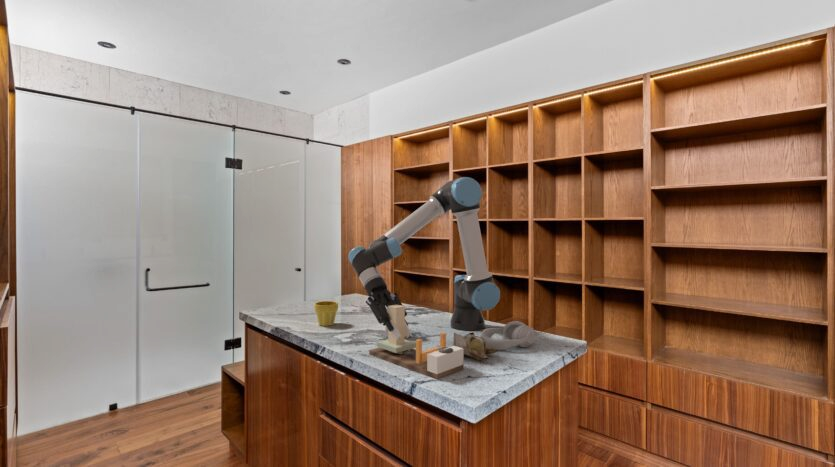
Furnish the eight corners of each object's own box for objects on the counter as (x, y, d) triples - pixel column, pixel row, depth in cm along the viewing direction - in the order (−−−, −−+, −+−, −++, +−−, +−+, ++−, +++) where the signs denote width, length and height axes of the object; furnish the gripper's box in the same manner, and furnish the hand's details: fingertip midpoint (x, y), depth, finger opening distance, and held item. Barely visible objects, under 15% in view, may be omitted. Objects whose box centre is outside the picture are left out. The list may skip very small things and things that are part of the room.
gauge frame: (415, 362, 123) (415, 339, 122) (443, 353, 131) (443, 332, 131) (418, 363, 122) (418, 340, 122) (445, 354, 130) (446, 333, 130)
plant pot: (335, 327, 177) (335, 305, 177) (311, 327, 177) (311, 305, 177) (340, 321, 187) (340, 300, 187) (318, 321, 188) (317, 300, 187)
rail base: (369, 354, 139) (369, 347, 139) (395, 347, 148) (395, 340, 148) (437, 379, 117) (437, 370, 117) (463, 369, 125) (463, 361, 125)
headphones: (521, 335, 163) (475, 344, 159) (519, 316, 163) (472, 325, 159) (544, 348, 145) (493, 359, 141) (542, 327, 145) (490, 337, 141)
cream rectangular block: (426, 370, 120) (426, 351, 119) (453, 361, 128) (453, 343, 128) (437, 374, 116) (437, 354, 116) (463, 364, 125) (463, 346, 125)
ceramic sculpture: (460, 325, 145) (500, 333, 137) (459, 348, 146) (499, 358, 138) (447, 332, 136) (489, 341, 128) (445, 357, 137) (487, 367, 129)
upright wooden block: (377, 349, 139) (377, 305, 138) (396, 344, 145) (396, 302, 145) (396, 356, 132) (396, 310, 131) (416, 350, 138) (416, 306, 138)
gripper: (386, 286, 155) (416, 338, 143) (349, 291, 143) (379, 348, 131) (395, 274, 151) (427, 325, 140) (358, 278, 139) (389, 335, 128)
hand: (403, 336), depth 136 cm, fingers closed on upright wooden block, 4 cm apart
